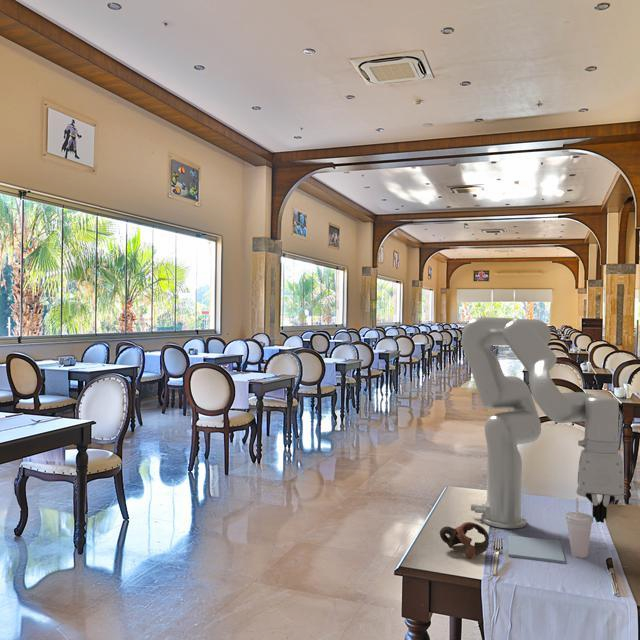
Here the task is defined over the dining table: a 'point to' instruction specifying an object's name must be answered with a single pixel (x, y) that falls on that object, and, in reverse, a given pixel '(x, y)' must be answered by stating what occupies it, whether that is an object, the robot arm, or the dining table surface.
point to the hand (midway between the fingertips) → (599, 520)
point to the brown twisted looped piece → (465, 538)
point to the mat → (535, 549)
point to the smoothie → (579, 532)
